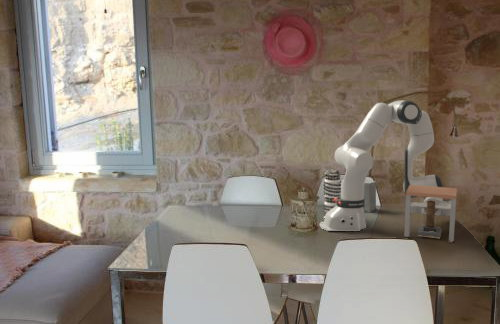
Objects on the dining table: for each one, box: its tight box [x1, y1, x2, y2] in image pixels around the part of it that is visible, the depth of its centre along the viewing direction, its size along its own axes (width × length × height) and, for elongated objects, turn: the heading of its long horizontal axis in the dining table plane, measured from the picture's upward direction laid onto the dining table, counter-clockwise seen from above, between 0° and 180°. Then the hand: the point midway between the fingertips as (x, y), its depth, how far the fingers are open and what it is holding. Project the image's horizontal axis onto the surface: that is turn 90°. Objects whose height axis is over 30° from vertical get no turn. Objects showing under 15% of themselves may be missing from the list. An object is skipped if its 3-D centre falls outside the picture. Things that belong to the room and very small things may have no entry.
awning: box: [403, 185, 458, 241], centre depth 244 cm, size 15×21×22 cm
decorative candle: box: [323, 168, 342, 219], centre depth 274 cm, size 9×9×25 cm
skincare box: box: [364, 180, 377, 213], centre depth 289 cm, size 8×7×16 cm
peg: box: [425, 201, 436, 228], centre depth 245 cm, size 4×4×12 cm
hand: (430, 213), depth 244 cm, fingers closed on peg, 3 cm apart
